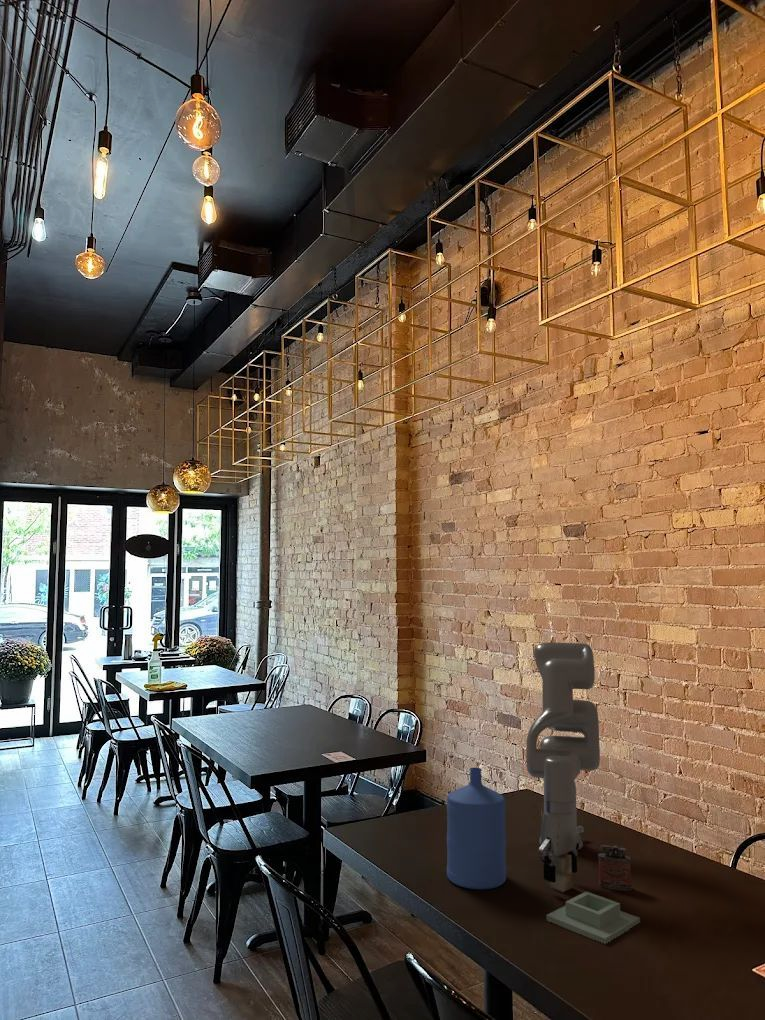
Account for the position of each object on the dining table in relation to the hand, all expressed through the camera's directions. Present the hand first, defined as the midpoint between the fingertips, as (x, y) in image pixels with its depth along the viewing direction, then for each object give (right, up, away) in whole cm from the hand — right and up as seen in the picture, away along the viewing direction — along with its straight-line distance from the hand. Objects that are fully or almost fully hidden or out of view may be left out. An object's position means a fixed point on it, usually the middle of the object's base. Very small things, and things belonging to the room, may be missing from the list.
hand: (560, 876), depth 183 cm
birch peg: (0, -3, 0) cm, 3 cm away
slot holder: (+3, -1, -19) cm, 19 cm away
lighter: (+14, -3, +1) cm, 15 cm away
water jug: (-21, -3, +5) cm, 22 cm away
